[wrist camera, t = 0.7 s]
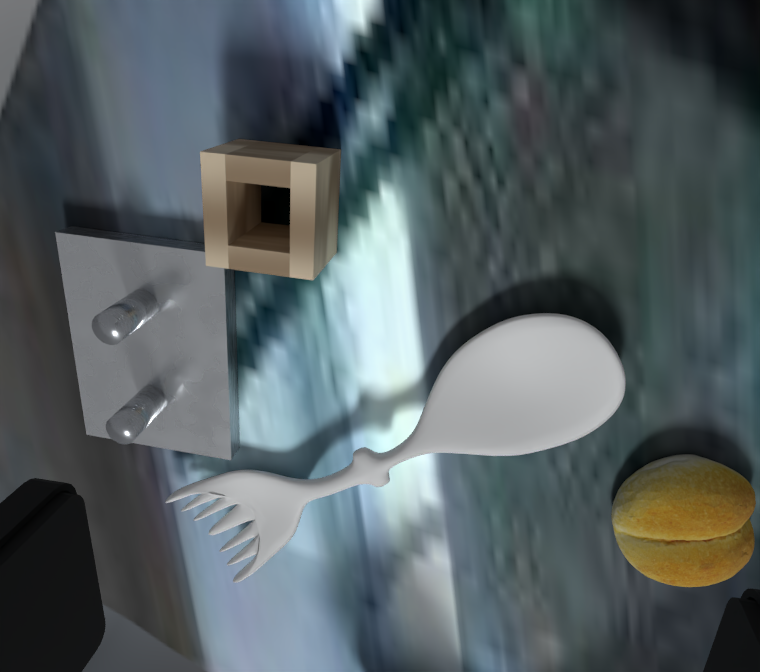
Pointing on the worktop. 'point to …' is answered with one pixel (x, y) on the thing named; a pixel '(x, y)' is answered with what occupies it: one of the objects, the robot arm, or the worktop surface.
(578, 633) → the worktop surface
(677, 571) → the bread roll
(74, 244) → the housing plate
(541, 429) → the spoon
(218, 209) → the hollow wooden block
